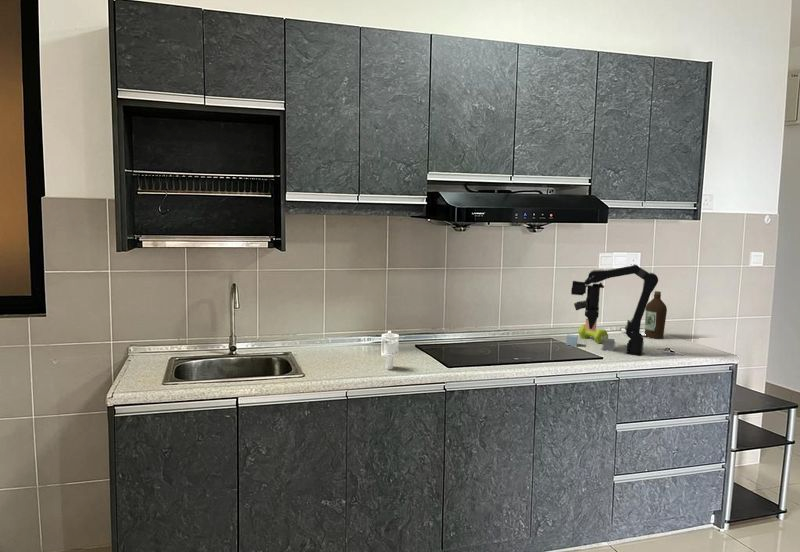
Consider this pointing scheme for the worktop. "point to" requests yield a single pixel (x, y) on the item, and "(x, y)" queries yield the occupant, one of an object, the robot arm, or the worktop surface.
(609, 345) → the charcoal block
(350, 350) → the worktop surface
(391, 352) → the clear stepped cylinder
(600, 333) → the dumbbell
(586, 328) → the terracotta block
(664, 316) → the olive oil
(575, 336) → the slate block
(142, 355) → the worktop surface
